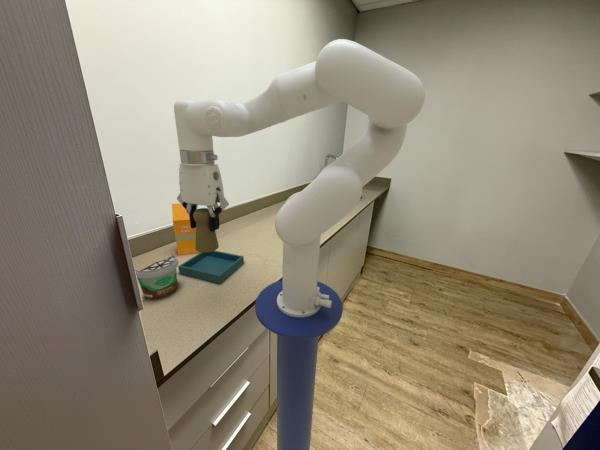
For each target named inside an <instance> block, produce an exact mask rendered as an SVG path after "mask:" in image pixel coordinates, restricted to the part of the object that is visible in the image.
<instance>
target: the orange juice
mask: <svg viewBox="0 0 600 450" xmlns="http://www.w3.org/2000/svg"><path fill="white" fill-rule="evenodd" d="M171 214H172V215H171V217H172V225H173V226H172V227H173V230H174V238H175V243H176V251H177V255H178V256H180V255H188V254H190V255H191V254H199V253H200V252H198V251H196V249H195V247H196V227H195V228H191V226H190V218H189V214H188V213H187V212H186V209H185V208H184V207H183V205H182V204H181V203H180V202H179V203H171Z"/></svg>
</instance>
